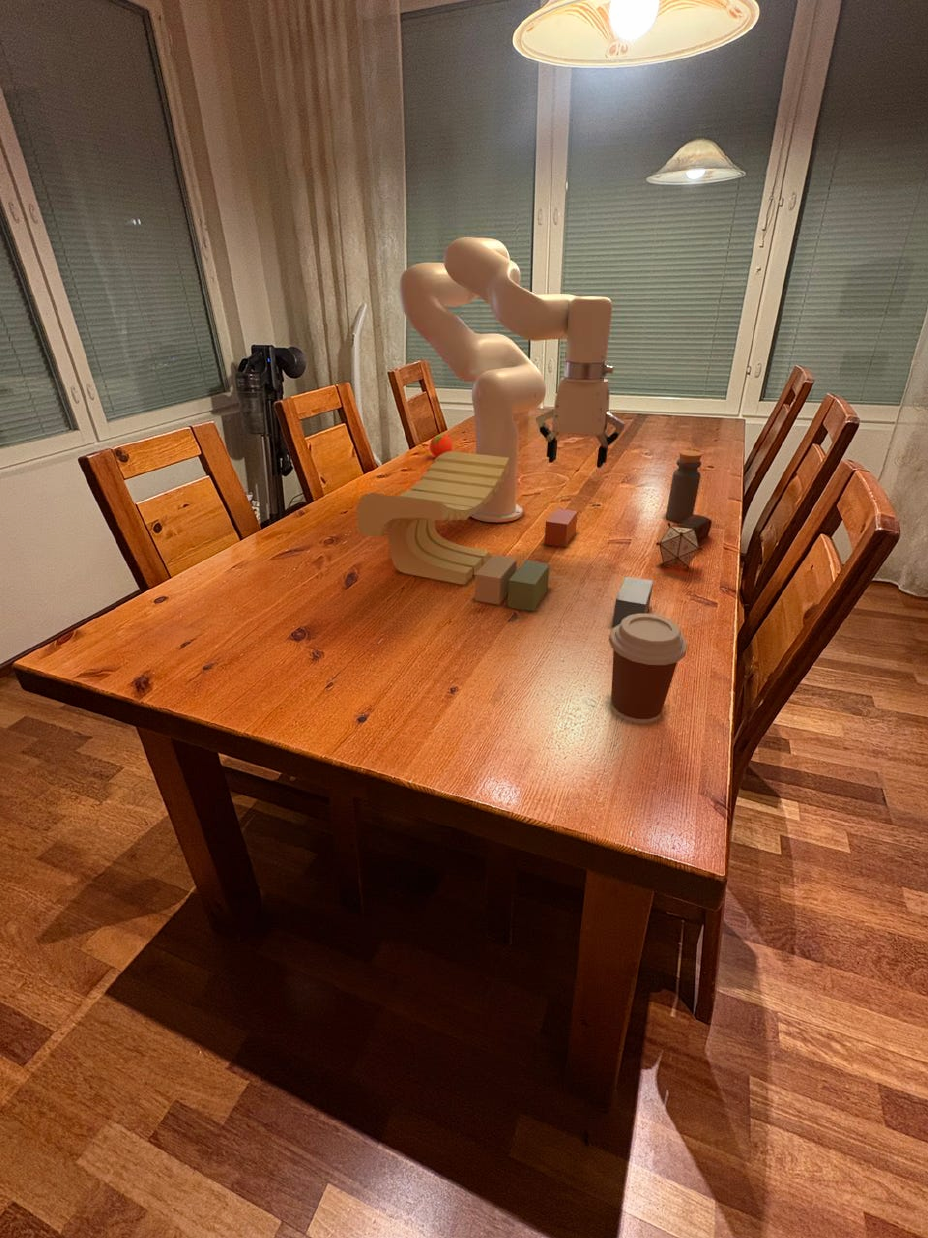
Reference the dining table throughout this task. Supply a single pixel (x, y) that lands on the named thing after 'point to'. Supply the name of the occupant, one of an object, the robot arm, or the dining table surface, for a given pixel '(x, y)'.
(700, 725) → the dining table surface
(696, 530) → the brick
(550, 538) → the loose block
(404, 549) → the slatted curved stool
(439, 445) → the tomato
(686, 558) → the game die
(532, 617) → the dining table surface
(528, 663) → the dining table surface
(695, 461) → the bottle
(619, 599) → the block
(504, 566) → the block
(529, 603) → the block
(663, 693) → the coffee cup
